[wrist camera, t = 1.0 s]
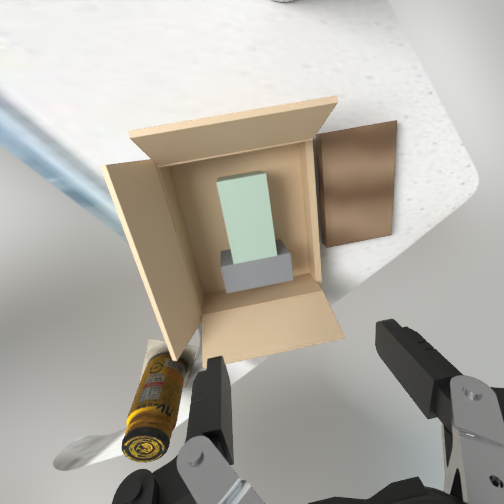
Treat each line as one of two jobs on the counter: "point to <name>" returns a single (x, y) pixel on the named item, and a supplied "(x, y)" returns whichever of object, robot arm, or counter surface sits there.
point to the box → (250, 235)
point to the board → (356, 182)
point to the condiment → (156, 402)
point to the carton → (215, 234)
